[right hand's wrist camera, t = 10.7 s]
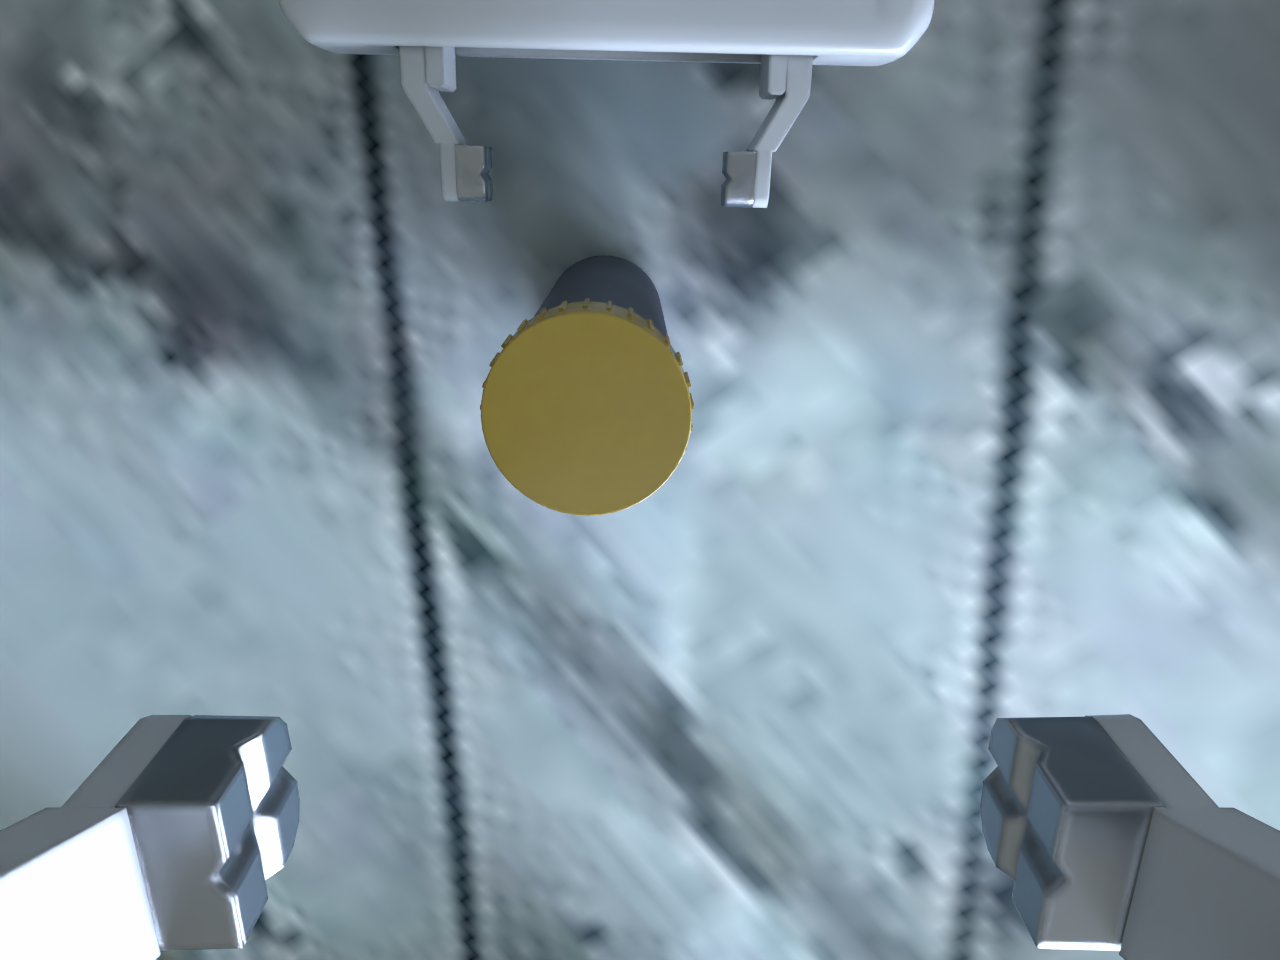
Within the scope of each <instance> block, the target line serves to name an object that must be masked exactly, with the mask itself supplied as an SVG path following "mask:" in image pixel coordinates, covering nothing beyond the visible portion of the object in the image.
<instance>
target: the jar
mask: <svg viewBox="0 0 1280 960" xmlns="http://www.w3.org/2000/svg"><path fill="white" fill-rule="evenodd" d="M585 298H589V299H590V302H603V303H607V302H608V300H609V301H612V305H616V306H619V307H622V308H625V309H628V310H629V307H631V308H633V311H634V313H635V314H637V315H639V316H641V317H642V318H644V319H645V320H647V321H648V319H651V320H652V321H653V326H654V327H655V328H657V329H658V330H659V331H660V332H661V333H662V335H663V336H664V335H665V334H667V330H666V326H665V321H664V317H663V312H662V308H661V303H660V299H659V296H658V293H657V290H656V288H655V286H654V284H653V283H652V281H651V280H650V278H649V277H648V276H647V275H646V274H645V273H644V272H643V271H642V270H641V269H640V268H639V267H637V266H636V265H634V264H633V263H631V262H629V261H627V260H624V259H621V258H618V257H613V256H595V257H590V258H587V259H584V260H581V261H580V262H578V263H576V264H574V265H573V266H571V267H570V268H569V269H567V270H566V271H565V272H564V273H563V274H562V276H561V277H560V278H559V279H558V281H557V282H556V284H555V285H554V287H553V288H552V290H551V292H550V293H549V295H548V296H547V298H546V299H545V301H544V302H543V304H542V305H541V307H540V309H539V310H538V312H537V313H536V315H535V316H537V315H538V314H539V313H540V311H541V309H543V308H546V310H548V309H551V308H554V307H557V306H560V305H561V304H562V302H563V301H566V300H567V303H573V302H584V301H585ZM535 316H534V317H535ZM667 335H668V334H667Z"/></svg>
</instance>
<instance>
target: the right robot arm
mask: <svg viewBox="0 0 1280 960" xmlns="http://www.w3.org/2000/svg"><path fill="white" fill-rule="evenodd" d="M291 749H292V747H291V742H290V737H289V732H288V727H287V724H286V723H285V722H284V721H283V720H282V719H281V718H280V717H260V716H212V715H195V716H190V715H151V716H147V717H144V718H141V719H140V720H139V721H138V722H137V723H136V724H135V725H134V726H133V727H132V728H131V729H130V731H129V732H128V733H127V734H126V735H125V736H124V737H123V738H122V740H121V741H120V742H119V743H118V744H117V745H116V746H115V747H114V749H113V750H112V751H111V752H110V753H109V754H108V755H107V756H106V758H105V759H104V760H103V761H102V762H101V763H100V764H99V765H98V767H97V768H96V769H95V770H94V771H93V772H92V773H91V774H90V775H89V777H88V778H87V779H86V780H85V781H84V782H83V783H82V784H81V786H80V787H79V788H78V789H77V790H76V791H75V792H74V793H73V795H72V796H71V797H70V798H69V799H68V800H67V801H66V802H65V804H64V805H63V806H62V807H61V808H45V809H43V810H41V811H39V812H37V813H35V814H33V815H31V816H29V817H27V818H25V819H23V820H21V821H19V822H17V823H15V824H13V825H11V826H9V827H7V828H5V829H3V830H1V831H0V960H156V959H157V958H158V957H159V956H160V955H161V952H160V951H165V950H199V949H233V948H243V947H244V945H245V943H246V941H247V939H248V937H249V935H250V933H251V931H252V929H253V927H254V925H255V923H256V921H257V919H258V917H259V915H260V913H261V911H262V909H263V907H264V905H265V904H266V902H267V900H268V895H267V889H266V883H265V880H266V879H267V878H269V877H270V876H272V875H273V874H274V873H276V872H277V871H279V870H280V869H281V868H283V867H284V865H285V863H286V861H287V859H288V857H289V855H290V853H291V850H292V848H293V846H294V841H295V837H296V832H297V828H298V823H299V801H300V799H299V792H298V785H297V781H296V780H295V779H294V778H293V777H292V776H291V775H290V774H289V773H288V772H287V771H286V770H285V769H284V768H283V767H282V765H283V763H284V761H285V760H286V758H287V756H288V754H289V753H290V751H291ZM988 749H989V751H990V753H991V754H992V756H993V758H994V760H995V761H996V763H997V765H998V766H997V768H996V769H995V770H994V771H993V772H992V773H991V774H990V775H989V776H988V777H987V778H986V779H985V780H984V781H983V786H982V794H981V803H980V810H981V821H982V831H983V834H984V838H985V841H986V845H987V848H988V851H989V853H990V855H991V857H992V859H993V861H994V863H995V865H996V867H997V868H999V869H1000V870H1001V871H1003V872H1004V873H1006V874H1007V875H1008V876H1010V877H1011V878H1013V879H1014V880H1015V883H1014V889H1013V895H1012V900H1013V902H1014V904H1015V906H1016V907H1017V909H1018V911H1019V913H1020V915H1021V917H1022V919H1023V921H1024V923H1025V925H1026V927H1027V929H1028V931H1029V933H1030V935H1031V937H1032V939H1033V941H1034V943H1035V945H1036V947H1037V948H1045V949H1080V950H1115V951H1120V952H1119V955H1120V956H1121V957H1123V958H1124V959H1125V960H1280V831H1279V830H1277V829H1275V828H1273V827H1271V826H1269V825H1267V824H1265V823H1263V822H1261V821H1259V820H1257V819H1255V818H1253V817H1251V816H1249V815H1247V814H1245V813H1243V812H1241V811H1239V810H1237V809H1235V808H1219V807H1218V806H1217V805H1216V804H1215V802H1214V801H1213V800H1212V799H1211V798H1210V797H1209V796H1208V795H1207V793H1206V792H1205V791H1204V790H1203V789H1202V788H1201V787H1200V786H1199V785H1198V783H1197V782H1196V781H1195V780H1194V779H1193V778H1192V777H1191V776H1190V774H1189V773H1188V772H1187V771H1186V770H1185V769H1184V768H1183V767H1182V765H1181V764H1180V763H1179V762H1178V761H1177V760H1176V759H1175V758H1174V756H1173V755H1172V754H1171V753H1170V752H1169V751H1168V750H1167V749H1166V747H1165V746H1164V745H1163V744H1162V743H1161V742H1160V741H1159V740H1158V739H1157V737H1156V736H1155V735H1154V734H1153V733H1152V732H1151V731H1150V730H1149V728H1148V727H1147V726H1146V725H1145V724H1144V723H1143V722H1142V721H1141V720H1140V719H1138V718H1136V717H1134V716H1132V715H1130V714H1125V715H1095V716H1085V717H1036V718H997V719H996V722H995V724H994V726H993V728H992V730H991V735H990V741H989V747H988Z"/></svg>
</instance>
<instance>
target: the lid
mask: <svg viewBox="0 0 1280 960" xmlns="http://www.w3.org/2000/svg"><path fill="white" fill-rule="evenodd" d="M517 330H518V331H517V332H516V333H515V334H514V335H513V336H512V335H511V334H510V335H509V336H508V337H507V339H506V340H505V341H504V343H503V344H502V345H501V347H503V350H502V351H501V353H499V352H498V353H497V354H496V356H495V357H494V359H493V360H492V361H491V363H490V365H489V366H491V370H490V372H489V374H488V376H487V378H486V380H485V381H484V383H483V386H482V387H483V388H484V389H483V395H482V401H481V405H480V410H481V421H482V430H483V434H484V438H485V442H486V445H487V447H488V450H489V452H490V454H491V457H492V458H493V460H494V462H495V464H496V465H497V467H498V468H499V470H500V471H501V472H502V474H503V475H504V476H505V478H506V479H507V480H508V481H509V482H510V483H511V484H512V485H513V486H514V487H515V488H516V489H517V490H519V491H520V492H521V493H522V494H524V495H525V496H527V497H528V498H530V499H531V500H533V501H535V502H536V503H538V504H541V505H543V506H545V507H547V508H550V509H553V510H556V511H559V512H563V513H568V514H573V515H586V516H589V515H603V514H608V513H614V512H617V511H620V510H623V509H627V508H629V507H631V506H633V505H635V504H638V503H639V502H641V501H643V500H644V499H646V498H648V497H649V496H651V495H652V494H653V493H654V492H655V491H657V490H658V489H659V488H660V487H661V486H662V485H663V484H664V483H665V482H666V481H667V480H668V479H669V478H670V476H671V475H672V473H673V472H674V471H675V469H676V468H677V466H678V464H679V462H680V461H681V459H682V457H683V455H684V452H685V451H686V449H687V448H686V447H687V444H688V440H689V436H690V431H692V428H693V427H692V423H691V421H692V409H694V404H693V400H692V396H691V393H689V389H688V387H691V384H690V380H689V377H688V373H687V372H684V371H683V368H682V365H683V362H682V359H681V355H680V353H679V352H677V353H676V352H675V351H674V349H673V348H672V346H671V345H670V341H669V337H668V335H667V334H665V335H664V336H663V335H662V333H661V332H660V331H659V330H658V329H657V328H655V327H654V326H653V321H652V320H651V319H648V321H647V320H645V319H644V318H642V317H641V316H639V315H637V314H635V313H634V311H633V308H631V307H629V310H628V309H625V308H622V307H619V306H616V305H612V301H609V300H608V302H607V303H603V302H590V299H589V298H585V301H584V302H573V303H567V300H566V301H563V302H562V304H561V305H560V306H557V307H554V308H551V309H548V310H546V308H543V309H541V311H540V313H539V314H538V315H537V316H535V317H534V318H532V319H531V320H529V321H528V320H527V319H525V320H524V321H523V322H522V323H521V325H520V326H519V328H518V329H517Z"/></svg>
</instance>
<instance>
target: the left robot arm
mask: <svg viewBox="0 0 1280 960" xmlns="http://www.w3.org/2000/svg"><path fill="white" fill-rule="evenodd" d="M279 4H280V7H281V9H282V11H283V13H284V15H285V16H286V17H287V19H288V20H289V21H290V23H291V24H292V25H293V26H294V28H295V29H296V30H297V31H298V32H299V33H300V35H301V36H302V37H303V38H304V39H305V40H306V41H307V42H309V43H311V44H313V45H315V46H317V47H319V48H322V49H325V50H328V51H331V52H335V53H341V54H376V55H400V72H401V87H402V88H403V90H404V92H405V93H406V95H407V97H408V99H409V100H410V102H411V104H412V105H413V107H414V109H415V110H416V112H417V114H418V115H419V117H420V119H421V120H422V122H423V124H424V125H425V127H426V129H427V131H428V132H429V134H430V136H431V137H432V139H433V141H434V142H435V144H439V148H440V168H441V187H442V194H443V199H444V201H491V200H492V196H493V181H492V179H491V178H490V176H489V175H488V173H489V171H490V170H491V168H492V148H491V147H487V146H471V145H468V144H467V142H466V140H465V138H464V137H463V135H462V133H461V131H460V129H459V128H458V126H457V124H456V122H455V120H454V119H453V117H452V115H451V113H450V111H449V110H448V108H447V106H446V104H445V102H444V101H443V99H442V97H441V95H440V93H439V90H440V91H442V92H454V91H455V90H456V62H455V56H462V57H505V58H547V59H590V60H633V61H676V62H719V63H761V67H760V90H759V96H760V97H761V98H762V99H774V98H776V101H775V103H774V105H773V107H772V108H771V110H770V112H769V113H768V115H767V117H766V118H765V120H764V122H763V123H762V125H761V127H760V128H759V130H758V132H757V133H756V135H755V137H754V139H753V140H752V142H751V144H750V145H749V147H748V149H747V150H746V151H728V152H723V163H722V173H723V175H724V176H725V178H726V180H725V181H724V183H723V184H722V186H721V206H729V207H758V208H767V204H768V199H769V189H770V173H771V158H772V152H775V151H776V150H777V149H778V147H779V145H780V144H781V142H782V140H783V139H784V137H785V136H786V134H787V132H788V131H789V129H790V128H791V126H792V124H793V123H794V121H795V120H796V118H797V116H798V115H799V113H800V111H801V110H802V108H803V107H804V105H805V103H806V102H807V100H808V99H809V97H810V89H811V76H812V65H848V66H879V65H883V64H886V63H889V62H892V61H894V60H896V59H898V58H900V57H902V56H904V55H905V54H906V53H907V52H908V51H909V50H910V49H911V48H912V47H913V46H914V44H915V43H916V42H917V41H918V40H919V39H920V37H921V36H922V35H923V34H924V32H925V31H926V29H927V28H928V25H929V23H930V21H931V18H932V13H933V8H934V0H279Z"/></svg>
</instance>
